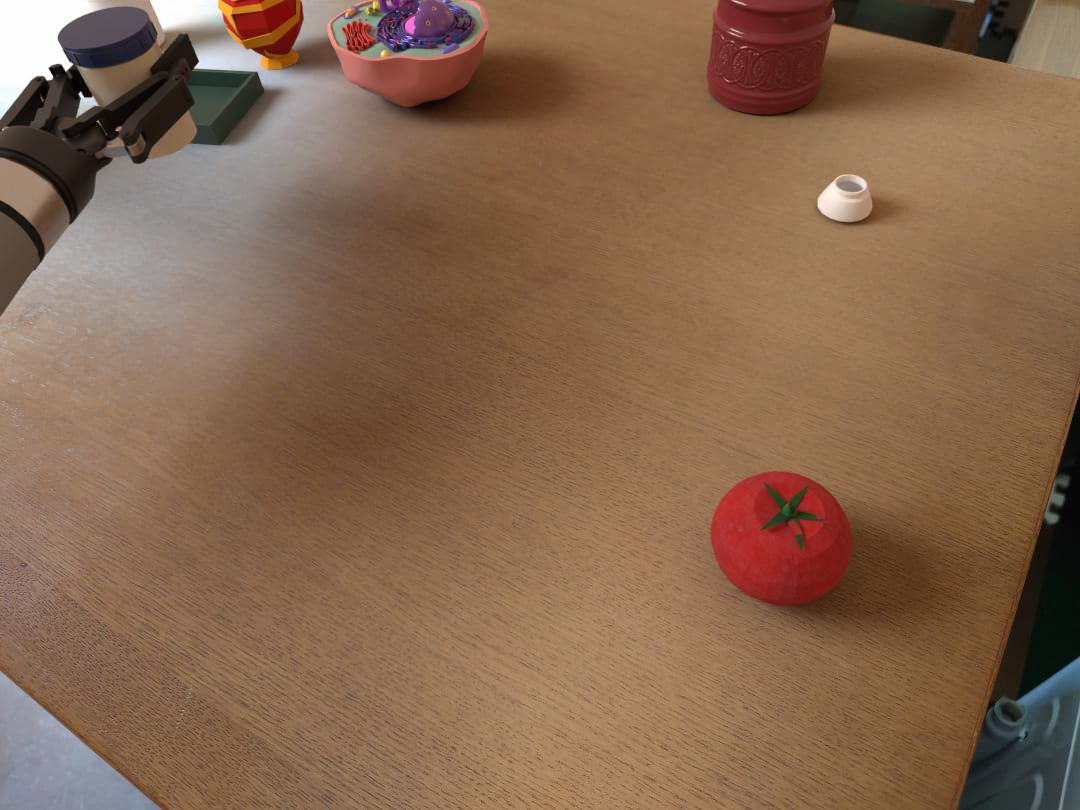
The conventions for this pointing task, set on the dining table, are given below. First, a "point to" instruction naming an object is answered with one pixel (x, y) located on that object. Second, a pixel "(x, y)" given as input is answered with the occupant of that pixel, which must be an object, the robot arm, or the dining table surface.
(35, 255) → the robot arm
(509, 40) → the dining table surface
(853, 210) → the lidless jar
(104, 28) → the jam lid
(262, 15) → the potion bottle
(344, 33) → the cell model
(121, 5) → the milk bottle
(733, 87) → the kitchen canister
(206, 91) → the lid tray
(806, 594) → the tomato
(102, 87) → the jam jar
